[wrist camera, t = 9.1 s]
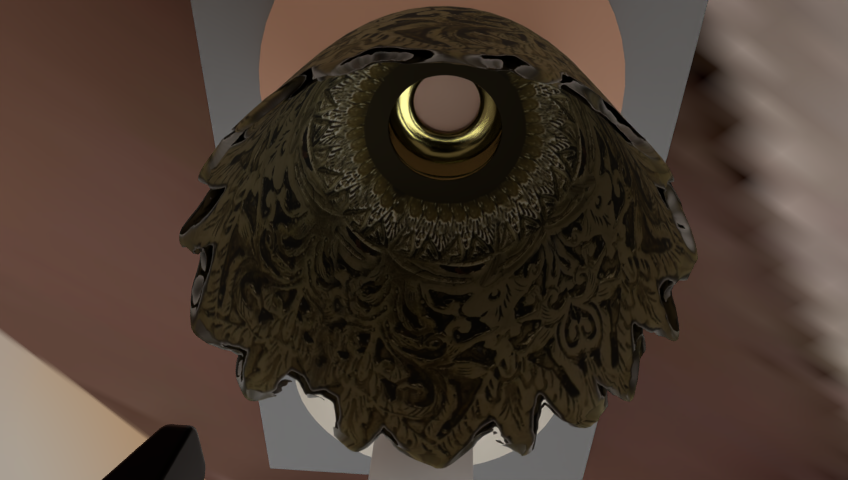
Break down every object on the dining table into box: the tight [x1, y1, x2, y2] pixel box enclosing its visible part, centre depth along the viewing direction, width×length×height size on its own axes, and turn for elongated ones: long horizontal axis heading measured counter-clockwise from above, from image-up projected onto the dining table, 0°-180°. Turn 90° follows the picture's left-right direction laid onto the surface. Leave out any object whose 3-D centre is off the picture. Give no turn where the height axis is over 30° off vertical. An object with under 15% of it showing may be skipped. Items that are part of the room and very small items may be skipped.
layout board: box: [191, 0, 708, 480], centre depth 17 cm, size 12×21×8 cm, turn 179°
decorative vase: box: [179, 6, 698, 469], centre depth 13 cm, size 7×7×8 cm
